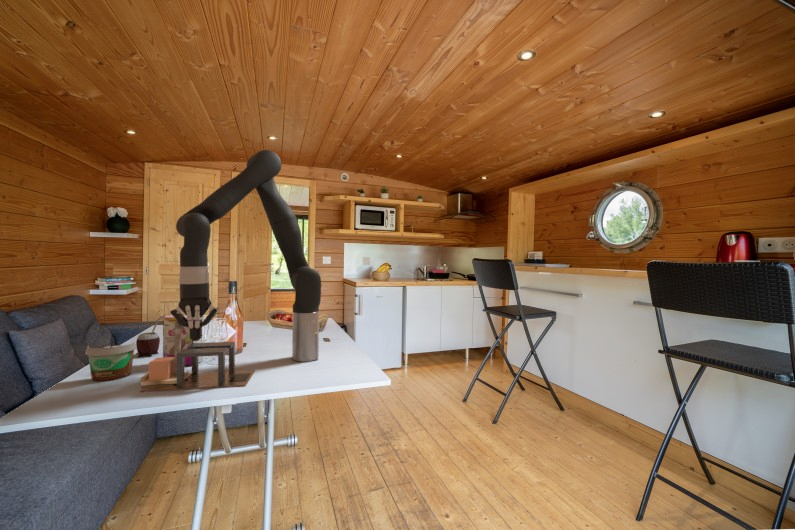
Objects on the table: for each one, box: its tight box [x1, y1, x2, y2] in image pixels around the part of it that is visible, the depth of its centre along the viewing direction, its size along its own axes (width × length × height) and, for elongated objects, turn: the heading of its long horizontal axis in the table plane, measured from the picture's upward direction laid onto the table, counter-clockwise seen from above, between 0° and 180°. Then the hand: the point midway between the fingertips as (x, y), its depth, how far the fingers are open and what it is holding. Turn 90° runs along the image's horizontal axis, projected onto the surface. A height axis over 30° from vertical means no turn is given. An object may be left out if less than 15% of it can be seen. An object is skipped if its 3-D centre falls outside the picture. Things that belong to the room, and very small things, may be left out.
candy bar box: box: [162, 314, 203, 367], centre depth 119 cm, size 11×5×16 cm, turn 84°
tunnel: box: [139, 341, 256, 393], centre depth 103 cm, size 27×13×10 cm, turn 101°
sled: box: [140, 321, 191, 386], centre depth 101 cm, size 10×7×17 cm
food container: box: [84, 341, 137, 383], centre depth 104 cm, size 12×6×10 cm, turn 117°
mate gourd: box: [135, 314, 166, 358], centre depth 129 cm, size 8×8×15 cm
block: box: [148, 356, 175, 380], centre depth 101 cm, size 5×5×5 cm
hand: (196, 340), depth 102 cm, fingers closed
